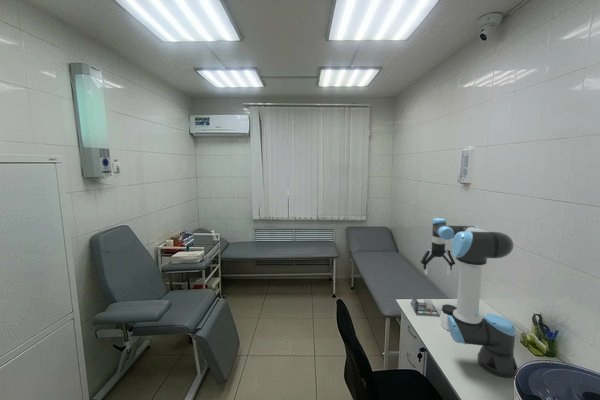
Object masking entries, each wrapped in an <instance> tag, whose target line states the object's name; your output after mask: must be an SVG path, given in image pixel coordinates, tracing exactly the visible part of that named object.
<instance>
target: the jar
mask: <svg viewBox="0 0 600 400" xmlns="http://www.w3.org/2000/svg"><path fill="white" fill-rule="evenodd" d="M455 309H457V306H456V305H452V304H443V305H442V306H441V311H440V312H441V313H440V327H442V328H443V329H445V330H446V331H448V332H450V331H449V327H448V316H453V311H454V310H455Z"/></svg>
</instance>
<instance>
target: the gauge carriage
mask: <svg viewBox="0 0 600 400" xmlns="http://www.w3.org/2000/svg"><path fill="white" fill-rule="evenodd" d="M423 303H424V306H425V307H426V309H430V311H431V309H433V305H434V302H433V301H432V299H424V301H423ZM431 312H432V311H431Z"/></svg>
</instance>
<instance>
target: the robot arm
mask: <svg viewBox="0 0 600 400" xmlns="http://www.w3.org/2000/svg"><path fill="white" fill-rule="evenodd" d="M431 223H432V224H431V225H432V228H431V229H432V233H431V237H432V238H431V249H428V248H427V249H426V250H425V253H424V254H423V256H422V258H421V260H420V263H421V264H422V265H423V266H422V267H423V268H422V269H424V274H425V275H426V276H428V273H429V272H428V270H429V269H428V268H429V267H428V265H429V263H430V261H432V260H433V259H434V258H442V259H444V260H445V261H446V262H447V266H446V275H447V276H451V270H453V269H452V268H453V267H452V266H453V265H456V262H455V260H457V262H458V263H459V270H458V272H459V273H458V286H457V301H456V307H457V309H455V310H454V311H453V316H448V327H449V331H448V332H449V334H450V336H451V338H452V340H453V341H454V342H455V343H458V344H463V345H475V346H476V345H477V346H481V347H480V349H479V351H478V353H477V357H476V358H477V359H476V360H477V362H478V364H479V365H480V367H482V368H483V369H484V370H486V371H487V372H489V373H491V374H492V375H495V376H498V377H502V378H514V377H516V376H517V375H516V373H517V374H518V365H517V361H516V358H515V355H514V354H515V353H514V352H515V343H516V342H515V339H516V336H517V334H516V327H515V325H514V324H513V322H511V321H510V320H509V319H507V318H505V317H503V316H501V315H498V314H495V313H486V314H485V315H484V316H483V318H482V316H481V315H480V314H479V312H480V310H479V309H480V300H481V299H480V297H481V286H482V275H483V273H482V270H483V266H486V265H487V262H488V261H487V260H488V259H502V258H505V257H507V256H509V255H510V254H511V253H512V252H513V250H514V241H513V239H512V238H511V237H510V236H509V235H508V234H506V233H503V232H500V231H488V230H485V229H481V228H480V227H479V226H478V225H450V224H449V225H447V220H446V219H445V218H443V217H442V218H441V217H435V218H433V220H432V222H431ZM449 240H452V242H451V248H452V250H450V249H446V241H449ZM451 252H452V254H453V256H454V257H456V258H455V260H454V258H453V256H452V254H451ZM445 254H447V256H448V258H449V259H448V258H447V256H445Z"/></svg>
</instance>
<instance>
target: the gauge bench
mask: <svg viewBox="0 0 600 400" xmlns="http://www.w3.org/2000/svg"><path fill="white" fill-rule="evenodd" d="M410 306H411V307H412V310H413V312H414V314H415V315H416V316H424V317H425V316H427V317H441V313H439V310H438V309H437V308H436V307H435V305H434V304H433V309H431V311H432V312H431V311H430V309H426V307H425V306H424V302H419V300H418V299H417V297H416V296H415V295H412V296H411V301H410Z"/></svg>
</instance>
